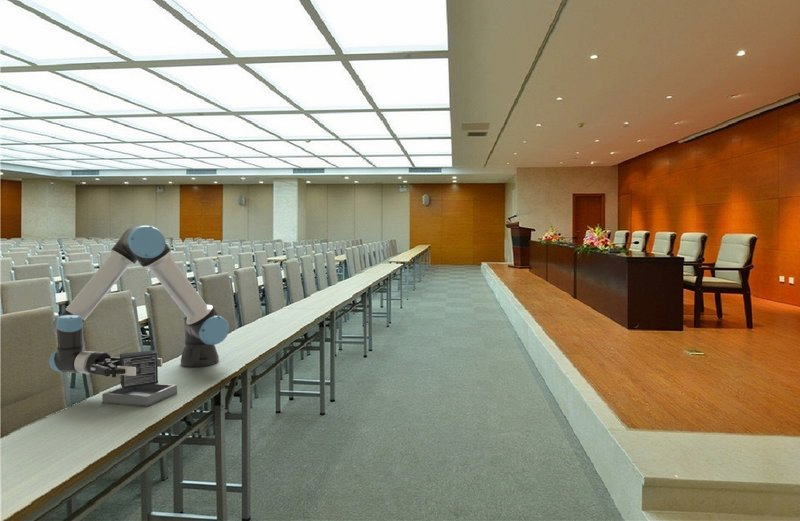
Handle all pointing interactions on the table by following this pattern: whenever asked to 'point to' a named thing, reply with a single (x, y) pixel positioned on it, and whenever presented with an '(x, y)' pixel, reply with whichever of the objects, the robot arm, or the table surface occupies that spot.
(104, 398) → the tray
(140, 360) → the small box
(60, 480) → the table surface
